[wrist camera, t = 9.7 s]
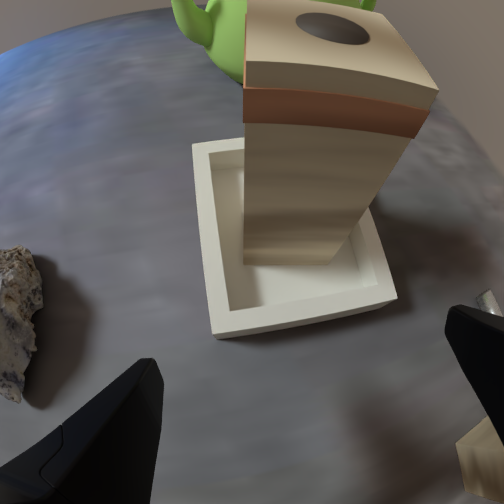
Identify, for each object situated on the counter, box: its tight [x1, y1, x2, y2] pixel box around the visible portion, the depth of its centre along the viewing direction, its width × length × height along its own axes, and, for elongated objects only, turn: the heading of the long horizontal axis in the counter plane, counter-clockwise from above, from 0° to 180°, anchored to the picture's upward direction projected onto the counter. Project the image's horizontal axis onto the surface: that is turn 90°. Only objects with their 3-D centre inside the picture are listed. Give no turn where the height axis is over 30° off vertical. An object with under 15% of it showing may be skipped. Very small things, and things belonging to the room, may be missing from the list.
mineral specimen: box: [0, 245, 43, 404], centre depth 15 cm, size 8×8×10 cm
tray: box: [192, 138, 397, 340], centre depth 18 cm, size 12×10×2 cm
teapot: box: [171, 0, 376, 84], centre depth 21 cm, size 22×15×13 cm
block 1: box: [243, 0, 439, 265], centre depth 13 cm, size 5×5×13 cm
